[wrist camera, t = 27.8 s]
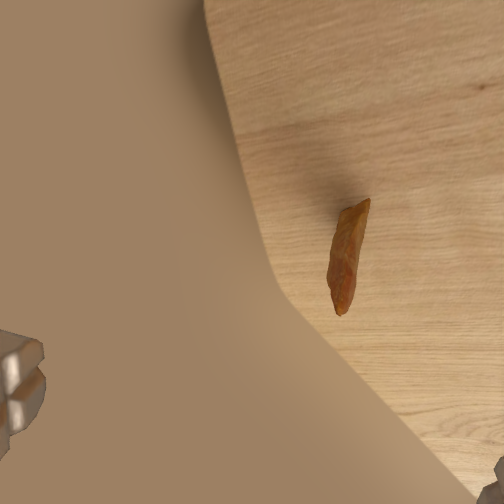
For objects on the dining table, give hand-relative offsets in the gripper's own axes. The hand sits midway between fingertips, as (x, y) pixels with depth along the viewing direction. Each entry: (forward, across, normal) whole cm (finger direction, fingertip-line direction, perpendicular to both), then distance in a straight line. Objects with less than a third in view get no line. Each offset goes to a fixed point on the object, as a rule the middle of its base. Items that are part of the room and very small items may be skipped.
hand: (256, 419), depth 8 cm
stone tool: (+29, -4, +5) cm, 29 cm away
